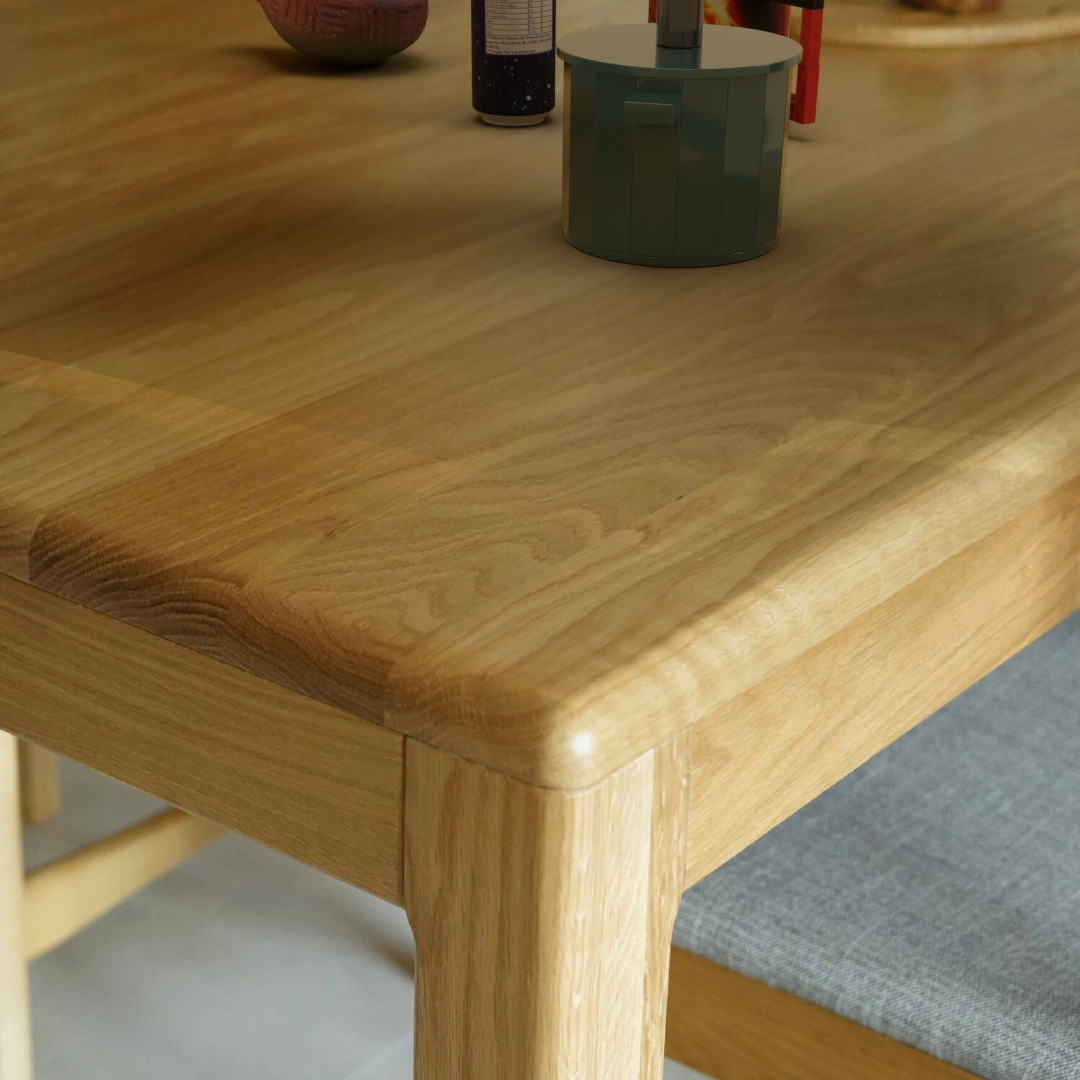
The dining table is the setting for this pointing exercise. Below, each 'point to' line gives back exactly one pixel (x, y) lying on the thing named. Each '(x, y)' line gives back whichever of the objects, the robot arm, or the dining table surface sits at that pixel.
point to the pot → (673, 166)
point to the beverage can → (513, 60)
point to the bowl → (348, 27)
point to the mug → (768, 8)
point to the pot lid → (679, 47)
